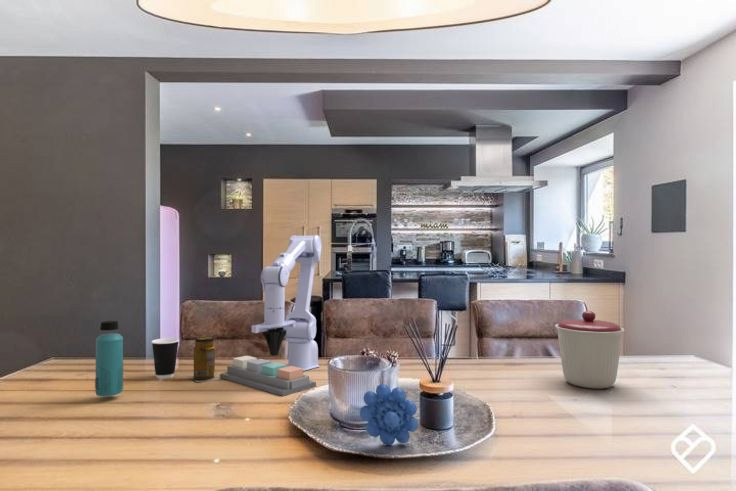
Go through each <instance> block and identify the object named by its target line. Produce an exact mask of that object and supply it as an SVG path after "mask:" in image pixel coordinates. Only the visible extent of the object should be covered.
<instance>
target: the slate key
mask: <svg viewBox="0 0 736 491" xmlns="http://www.w3.org/2000/svg"><path fill="white" fill-rule="evenodd" d="M270 363H272V360H268V359H262V358H257V360H253V361H248V362H247V370H250V371H254V372H261V371H262V365H266V364H270Z"/></svg>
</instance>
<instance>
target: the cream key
mask: <svg viewBox="0 0 736 491" xmlns="http://www.w3.org/2000/svg"><path fill="white" fill-rule="evenodd" d="M253 360H258V358H257V357H254V356H251V355H244V356H237V357H233V358H232V364H233V366H235V367H238V368H242V369H243V368H247V362H248V361H253Z"/></svg>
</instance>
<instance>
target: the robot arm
mask: <svg viewBox="0 0 736 491" xmlns="http://www.w3.org/2000/svg"><path fill="white" fill-rule="evenodd" d="M288 240H289V241H288V248H287V249H286V251H285V252H280V253H279V255H278V256H277V257H276V258H275V259H274V260H273V262H272V263H271V264H270V266H265V267H264V268H263V269H262V271H261V273H260V282H261V285H262V292H264V302H263V303H264V310H263V311H264V312H263V313H264V314H263V315H264V322H261V323H259V324H254V325H251V333H253V334H259V333H261V334H262V335H263V338H264V340H265V342H266V344H267V348H268V351H269V354H270V355H269V356H273V357H277V356H279V353H280V349H281V345H282V343H283V340H284V338H285V339H286V342H288V345H287V346H288V351H287V353H288V359H287V360H288V361H287V362H288V363H287V367H289V366H294V367H298V368H303V372H304V371H309V370H312V369H313V370H314V369H316V368H319V367H320V366H321V365H319V363H318V362H319V361H318V359H319V347H318V343H317V341H315V340H314V339H315V338H316V336H317V335H316V334H317V319H316V316H315V315H314V314H312V313H311V312H310V306H311V299H312V291H313V283H314V276H315V268H316V264H317V263H319V262H320V259H321V255H322V246H323V245H322V240H321V237H320V236H319V235H317V234H316V235H294V234H293V235H291V236H290V238H289V239H288ZM296 262H297V263H298V264H299V265H300V266H299V274H298V279H297V280H298V281H297V286H296V287H297V288H296V294H295V300H294V301H295V303H294V307H293V308H294V309H293V310H292V311H290V313H288V314H286V313H285V308H286V307H285V305H286V304H285V303H286V302H285V294H286V293H285V290H286V288H285V287H286V285H288V282H289V278H290V275H291V274H290V273H291V272H292V270H293V269H294V268H295V266H296ZM285 314H286V317H285Z"/></svg>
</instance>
